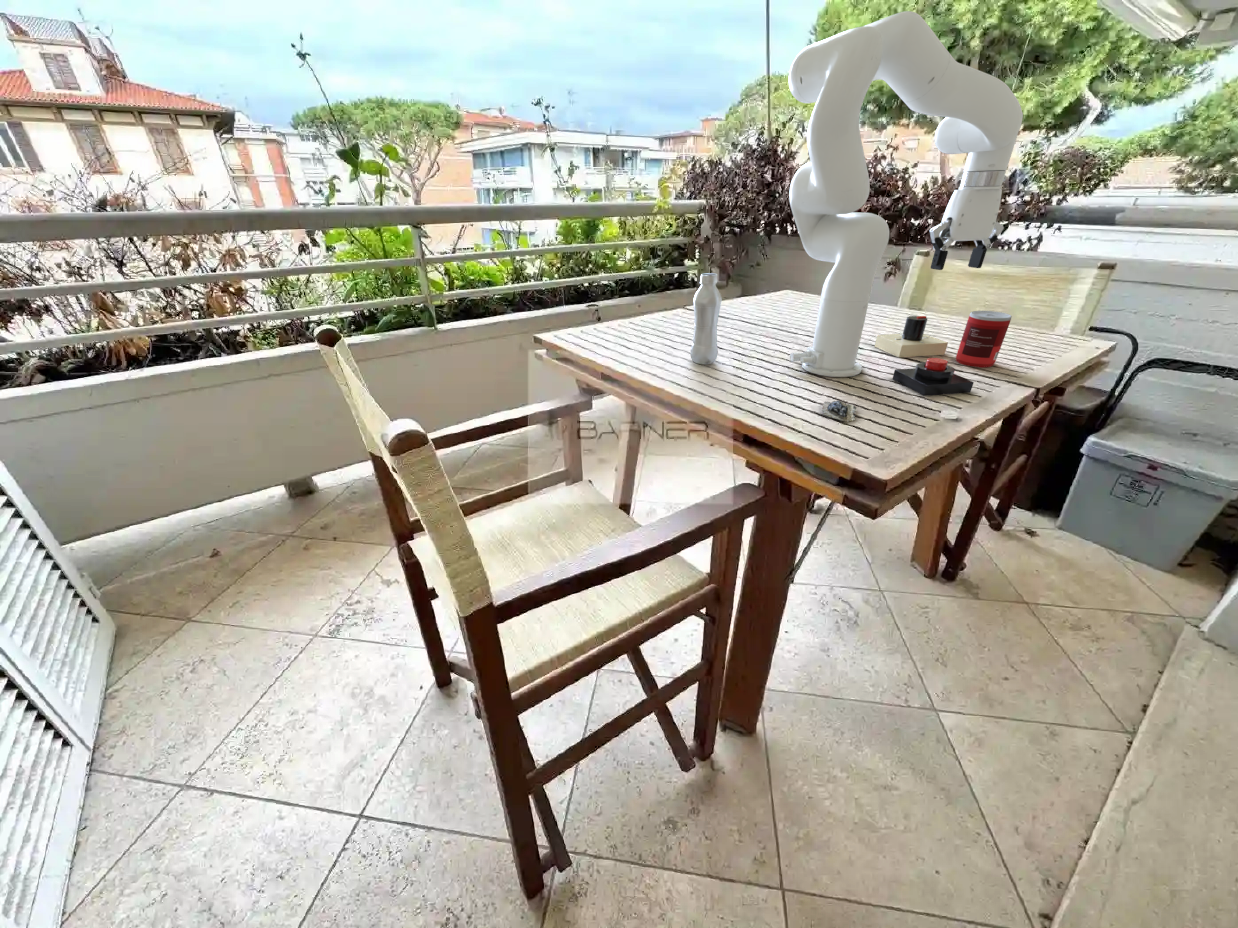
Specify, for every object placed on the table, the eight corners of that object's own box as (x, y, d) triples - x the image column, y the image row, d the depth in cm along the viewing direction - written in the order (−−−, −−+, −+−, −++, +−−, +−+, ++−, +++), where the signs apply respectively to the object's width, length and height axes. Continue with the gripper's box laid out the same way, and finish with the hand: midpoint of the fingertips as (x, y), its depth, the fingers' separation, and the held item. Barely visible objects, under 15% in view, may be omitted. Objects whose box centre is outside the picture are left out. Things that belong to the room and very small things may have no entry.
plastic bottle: (686, 365, 114) (690, 276, 104) (693, 357, 120) (698, 272, 110) (713, 368, 112) (720, 277, 102) (719, 360, 118) (726, 272, 108)
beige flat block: (898, 357, 116) (902, 344, 115) (874, 346, 125) (877, 334, 123) (944, 354, 117) (948, 342, 116) (917, 344, 126) (920, 332, 125)
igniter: (923, 396, 94) (929, 376, 92) (891, 379, 103) (896, 361, 101) (970, 392, 95) (977, 373, 93) (935, 376, 104) (940, 358, 102)
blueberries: (850, 404, 91) (852, 395, 90) (868, 421, 84) (871, 411, 83) (814, 405, 92) (816, 395, 91) (829, 422, 85) (831, 412, 84)
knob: (909, 341, 118) (915, 319, 115) (897, 336, 121) (903, 315, 119) (925, 340, 118) (932, 318, 115) (914, 335, 122) (919, 314, 119)
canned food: (982, 357, 115) (998, 310, 109) (1002, 368, 108) (1020, 318, 102) (948, 357, 115) (962, 310, 110) (965, 368, 108) (982, 318, 103)
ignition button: (932, 372, 96) (935, 363, 95) (920, 366, 99) (923, 358, 98) (949, 371, 96) (952, 362, 95) (936, 365, 99) (939, 357, 98)
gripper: (1001, 181, 106) (975, 265, 115) (931, 183, 104) (909, 268, 112) (1032, 180, 100) (1002, 269, 108) (958, 182, 98) (933, 272, 106)
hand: (955, 268), depth 110 cm, fingers open, 9 cm apart
